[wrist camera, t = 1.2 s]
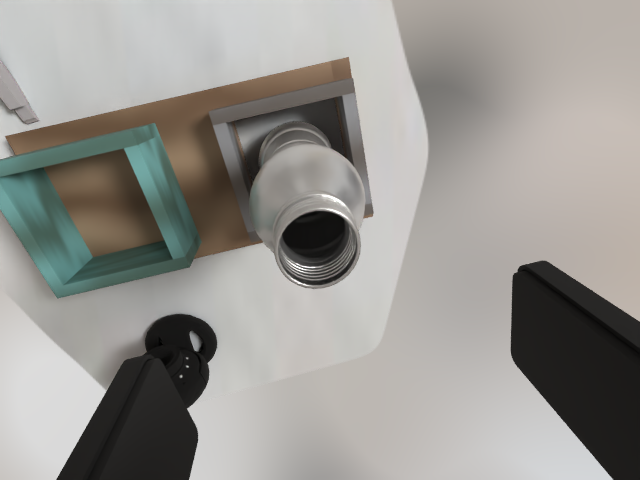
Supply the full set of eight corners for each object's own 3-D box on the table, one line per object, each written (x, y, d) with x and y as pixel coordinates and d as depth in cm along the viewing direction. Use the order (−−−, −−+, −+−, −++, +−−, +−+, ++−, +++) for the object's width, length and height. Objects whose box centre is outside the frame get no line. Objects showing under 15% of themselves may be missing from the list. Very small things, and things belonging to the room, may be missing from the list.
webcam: (208, 306, 38) (187, 376, 29) (226, 358, 41) (211, 436, 32) (136, 319, 38) (91, 394, 29) (159, 370, 41) (125, 453, 32)
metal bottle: (258, 188, 33) (234, 316, 15) (262, 113, 30) (239, 159, 12) (324, 194, 34) (378, 321, 16) (334, 122, 31) (412, 176, 13)
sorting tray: (17, 133, 29) (-49, 146, 23) (345, 58, 29) (362, 52, 24) (97, 275, 35) (60, 314, 29) (369, 211, 35) (387, 236, 29)
